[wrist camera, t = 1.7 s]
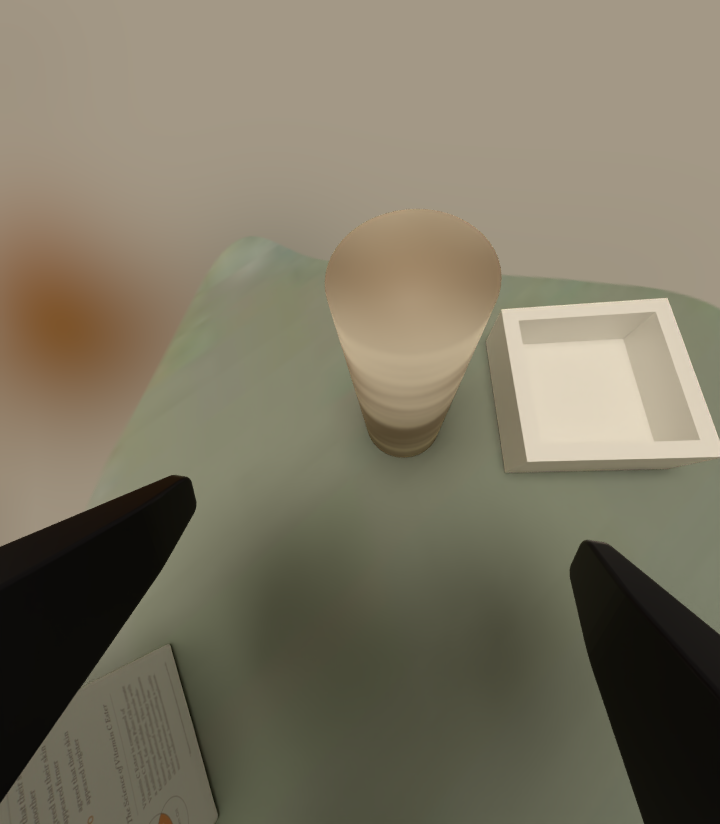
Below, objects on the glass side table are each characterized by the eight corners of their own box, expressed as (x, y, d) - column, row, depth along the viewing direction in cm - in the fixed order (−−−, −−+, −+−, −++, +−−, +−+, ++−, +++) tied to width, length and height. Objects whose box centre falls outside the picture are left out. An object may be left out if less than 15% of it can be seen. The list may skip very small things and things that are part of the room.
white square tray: (666, 469, 18) (725, 456, 15) (504, 472, 19) (527, 461, 16) (625, 333, 21) (667, 298, 18) (485, 341, 22) (501, 309, 19)
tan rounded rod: (442, 456, 20) (514, 346, 8) (367, 458, 20) (322, 357, 8) (436, 387, 21) (488, 201, 9) (366, 390, 22) (327, 217, 10)
